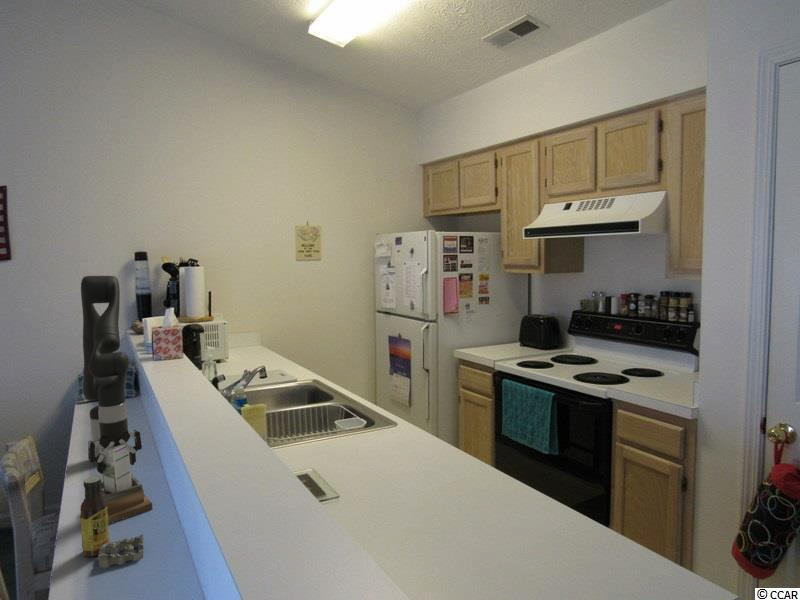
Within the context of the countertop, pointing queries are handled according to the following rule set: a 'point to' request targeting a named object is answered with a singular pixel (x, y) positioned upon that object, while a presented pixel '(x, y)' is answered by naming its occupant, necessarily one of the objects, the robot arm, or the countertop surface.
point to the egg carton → (116, 547)
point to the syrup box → (116, 469)
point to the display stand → (126, 501)
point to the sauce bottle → (93, 518)
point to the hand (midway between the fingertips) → (116, 468)
